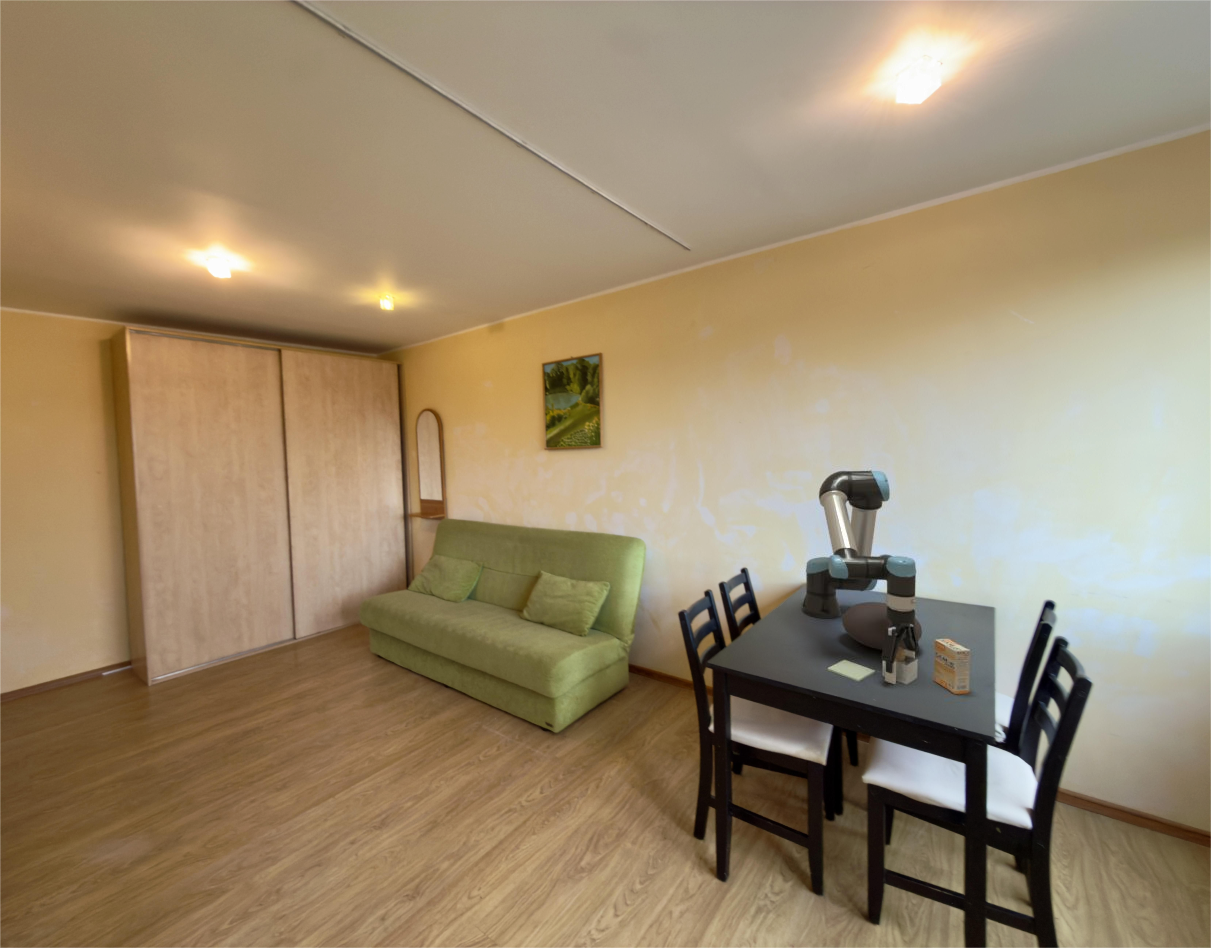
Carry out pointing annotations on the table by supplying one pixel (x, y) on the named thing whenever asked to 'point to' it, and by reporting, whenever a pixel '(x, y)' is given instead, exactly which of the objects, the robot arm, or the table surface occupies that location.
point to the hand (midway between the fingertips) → (900, 676)
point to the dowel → (900, 654)
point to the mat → (851, 670)
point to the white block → (905, 670)
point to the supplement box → (952, 666)
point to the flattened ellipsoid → (871, 624)
